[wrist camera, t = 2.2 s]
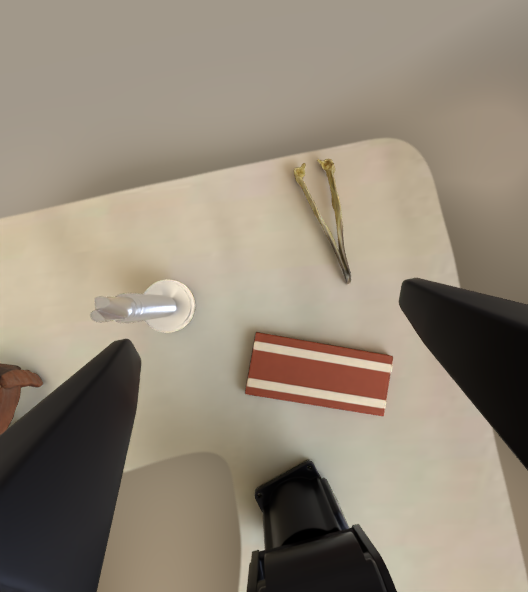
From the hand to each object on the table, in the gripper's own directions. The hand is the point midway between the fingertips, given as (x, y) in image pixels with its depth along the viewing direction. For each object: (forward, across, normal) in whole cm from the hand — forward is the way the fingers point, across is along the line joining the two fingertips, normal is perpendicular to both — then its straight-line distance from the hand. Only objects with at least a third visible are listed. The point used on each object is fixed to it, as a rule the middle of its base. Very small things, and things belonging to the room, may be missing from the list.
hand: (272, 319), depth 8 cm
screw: (+16, +8, +8) cm, 19 cm away
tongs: (+19, -9, +4) cm, 21 cm away
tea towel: (+10, -5, +16) cm, 20 cm away
